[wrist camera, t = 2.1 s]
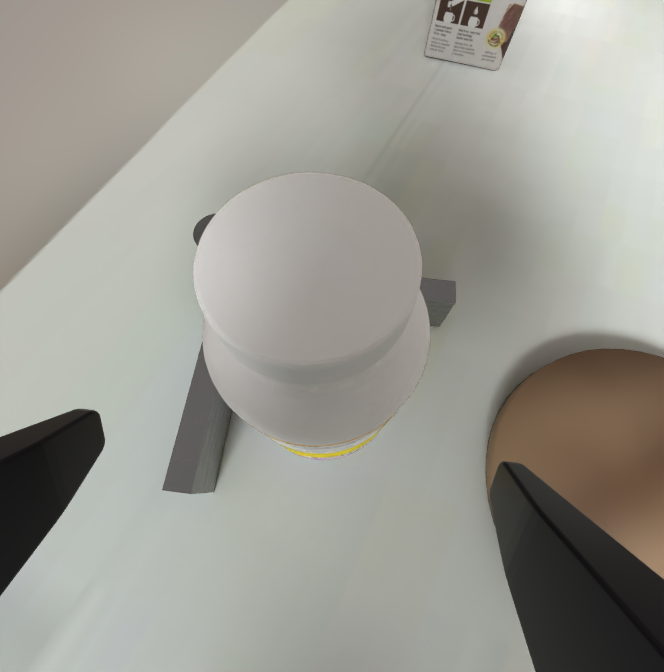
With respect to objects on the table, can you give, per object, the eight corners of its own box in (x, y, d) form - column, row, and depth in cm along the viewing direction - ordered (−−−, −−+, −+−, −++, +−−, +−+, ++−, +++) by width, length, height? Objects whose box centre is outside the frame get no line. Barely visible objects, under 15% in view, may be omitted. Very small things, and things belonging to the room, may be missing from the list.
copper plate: (861, 547, 16) (899, 551, 15) (655, 772, 14) (683, 797, 13) (619, 312, 21) (635, 302, 20) (427, 447, 18) (433, 444, 17)
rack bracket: (437, 521, 17) (488, 540, 11) (181, 487, 18) (110, 490, 12) (439, 301, 21) (477, 237, 16) (233, 280, 22) (199, 211, 16)
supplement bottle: (309, 316, 21) (279, 97, 9) (410, 378, 20) (530, 216, 8) (235, 412, 19) (68, 294, 7) (341, 490, 17) (360, 507, 6)
